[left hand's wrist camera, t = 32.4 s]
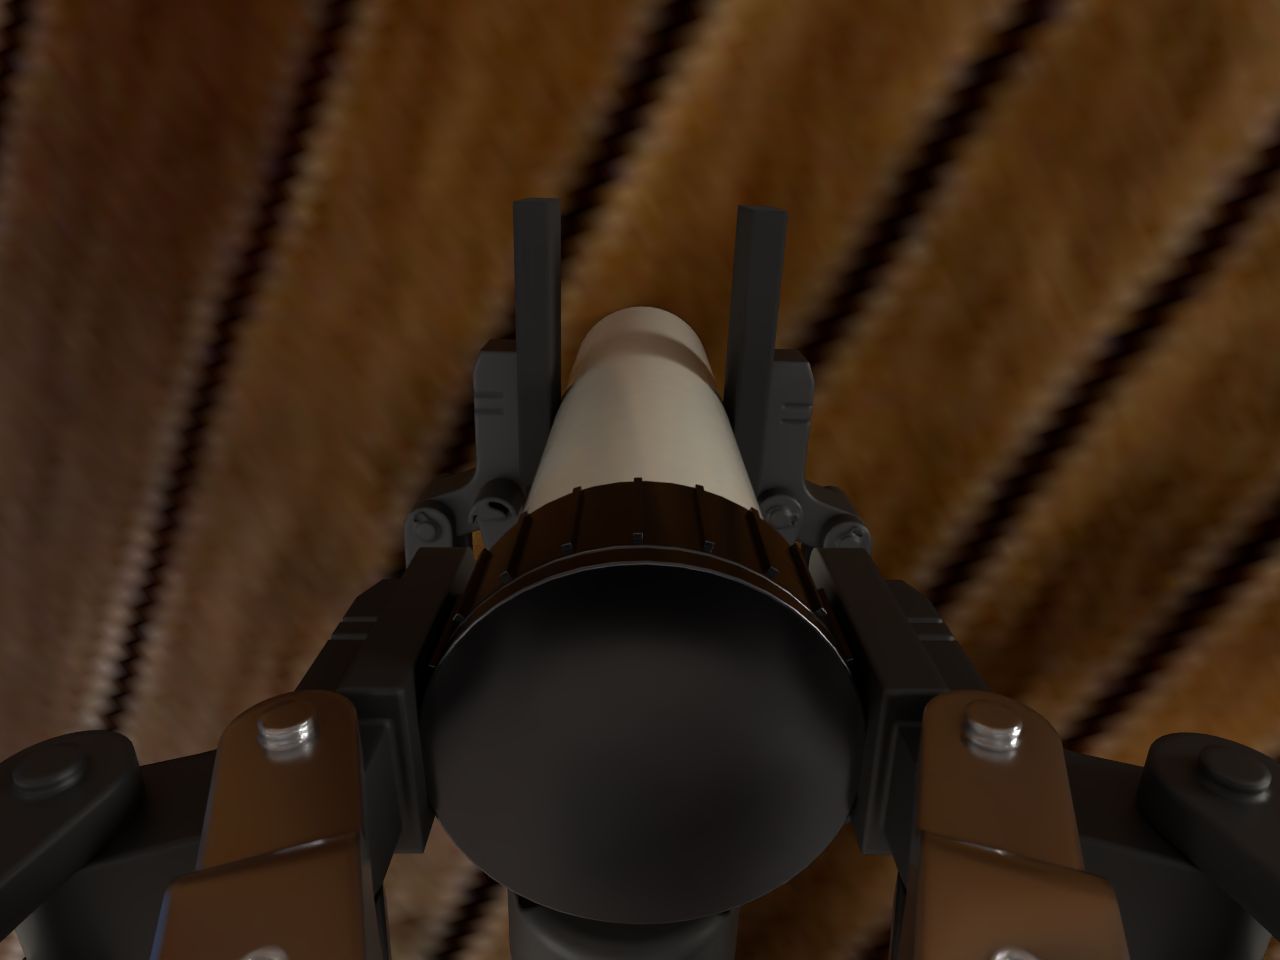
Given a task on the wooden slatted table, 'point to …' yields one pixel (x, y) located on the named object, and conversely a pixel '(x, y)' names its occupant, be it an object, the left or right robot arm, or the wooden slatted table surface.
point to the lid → (642, 708)
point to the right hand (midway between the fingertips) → (649, 206)
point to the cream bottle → (641, 414)
